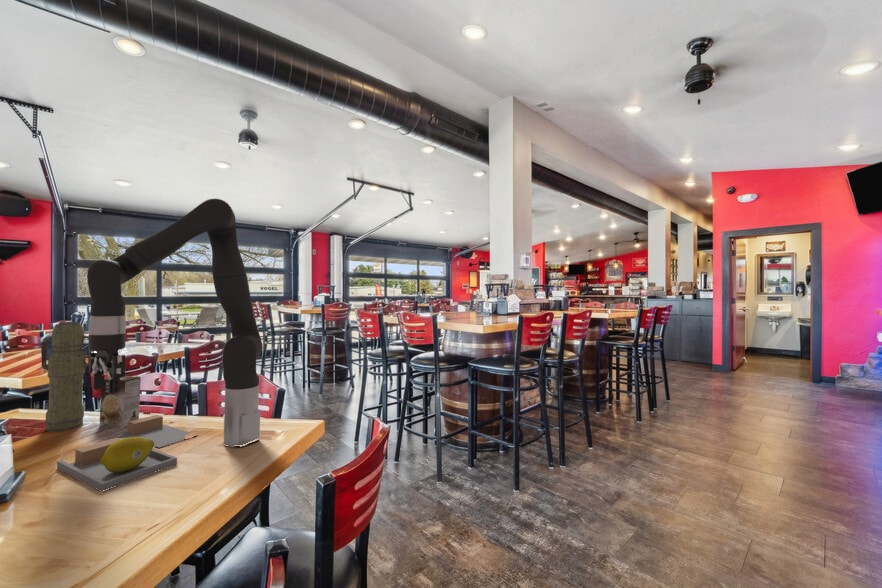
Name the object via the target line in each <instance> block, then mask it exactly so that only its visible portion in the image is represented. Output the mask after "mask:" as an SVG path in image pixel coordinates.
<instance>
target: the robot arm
mask: <svg viewBox="0 0 882 588" xmlns="http://www.w3.org/2000/svg"><path fill="white" fill-rule="evenodd" d="M236 221H237V220H236V215H235V213H234V210H233V208H232V207H231V205H230V204H229V203H228V202H227V201H225V200H222V199H220V198H217V197H216V198H215V197H213V198H209V199H206V200H204V201H202V202H201V203H199V205H197V206H196V207H195V208H193V209H192V210H190V211H189V212H188V213H187V214H185V215H184V216H182V217H181V218H179V219H178V220H176V221H175V222H173V223H171V224H170V225H168V226H166V227H165V228H163V229H160V230H159V231H157V232H156V233H153V234H152V235H150V236H148V237H145V238H144V239H142V240H140V241H138V242H136V243H134V244H132V245H130V246H128V247H127V248H126V249H125V250H124V253H122V254H120V255H119V256H117V257H115V258H114V259H111V260H110V259H98V260H95V261H93V262H92V263H91V264H90V265H89V267H88V268H87V272H86V273H87V274H86V280H87V282H86V283H87V287H88V292H89V295H90V300H91V302H90V319H89V322H88V323H89V324H88V336H89V340H88V342H87V343H88V345H87V346H88V348H87V349H88V351H89V350H90V351H92V352H90V354H89V353H88V354H89V355H90V356H89V366H88V373H89V374H91V376H92V377H93V378H92V381H93V382H92V389H93V390H94V391H97V390H98V391H99V390H101V389H103V388H104V379H105V378H106V377H105V374H106V375H107V378H109V383H108V393H110V394H113V393H118V392H119V391H120V378H122V377H125V376H126V355H125V354H119V350H124V349H125V348H126V340H127V339H126V334H127V322H126V300H125V296H123V295H122V288H121V287H122V286H121V285H123V284H125V283H127V282H129V281H130V280H131V279H134V278H135V277H136V276H138V275H139V274H140V273H142V272H144V271H145V270H146V269H148V268H150V267H152V266H153V265H155V264H158V263H159V262H161V261H163V260H165V259H167V258H168V257H170V256H171V255H172V254H174V253H175V252H176V251H178V250H179V249H180V248H182V247H183V246H184V245H185V244H187V243H188V242H189V241H191V240H193V239H194V238H195V237H198V236H199V235H201V234H204V233H206V232H207V234H208V235H207V236H208V239H209V242H210V247H211V271H212V272H211V275H212V280H213V285H214V290H215V295H216V297H217V299H218V301H219V304H220V306H221V308H222V310H223V311H224V313H225V315H226V316H227V319H228V323H229V325H230V332H231V337H230V339H228V340H227V341H226V342H225V344H224V347H223V351H222V376H223V377H222V378H223V380H224V384H225V386H224V387H225V389H224V391H225V392H224V411H223V412H224V414H223V415H224V416H223V417H224V419H223V445H224V444H225V445H228V446H234V445H243V444H246V443H248V442H250V441H253V440H255V439H257V438H259V439H260V437H261V436H260V435H261V434H260V432H261V427H260V426H261V425H260V424H261V410H260V409H259V404H260V403H259V399H260V398H259V396H260V395H259V394H260V376H259V375H258V373H257V360H258V358H259V357H260V356H261V354H262V352H263V341H262V338H261V335H260V332H259V328H258V326H257V323H256V319H255V316H254V309H253V303H252V297H251V293H250V292H251V291H250V285H249V281H248V276H247V271H246V267H245V264H244V261H243V258H242V255H241V252H240V249H239V245H238V238H237V227H236V224H237V223H236ZM225 445H224V446H225Z"/></svg>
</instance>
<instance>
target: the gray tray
mask: <svg viewBox="0 0 882 588" xmlns="http://www.w3.org/2000/svg"><path fill="white" fill-rule="evenodd" d="M122 439H123V438H121V437H116V438H112V439H109V440H108V439H107V440H104V441H102V442H97V443H94V444H90V445H86V446H83V447H78V448H75V449H74V451H75V453H74V454H75V455H74V456H75V458H74V461H73V462H70V463H68V462H66V461H64V460H62V459H61V460H60V459H59V460H57V462H56V469H57V470H60V471H62V472H63V473H65V474H67V475H69V476H70V477H73V478H75V479H77V480H78V481H79V482H80V481H81V482H82V483H84V482H85V483H84V484H86V483H87V484H86V485H88V484H89V485H88V486H90V485H91V486H93V487H95V488H97V489H99V490H101V491H103V490H106V489H108V488H111V487H114V486H117V487H119V486H118V485H120V486H122V485H121V484H123V485H124V483H125V484H128V483H131V482H133V481H135V479H136V480H139V479H141V478H140V477H142V478H144V477H146V476H145V475H147V476H149V475H148V474H150V473H153V472H155V471H158V470H161V469H163V470H165V469H164V468H166V469H168V468H167V467H169V468H171V467H170V466H172V467H174V466H176V465H175V464H178V457H176V456H173V455H171V454H168V453H165V452H162V451H160V450H158V449H154V448H153V449H152V450H151V452H150V453H149V455H148V457H147V458H146V459H145V461H144V462H142V463H141V464H140V465H139V466H137V467H135V468H133V469H131V470H129V471H126V472H121V473H113V472H110V471H108V470H106V468H105V466H104V465H102V464H101V463H100V460H101V459H102V457H103V456H104V453H105V451H106V450H107V448H108V447H109V446H110V445H112V444H113V443H115V442H117V441H119V440H122ZM173 465H174V466H173ZM161 471H162V470H161ZM158 472H159V471H158ZM155 473H156V472H155ZM153 474H154V473H153ZM150 475H151V474H150ZM143 476H144V477H143ZM138 478H139V479H138ZM132 480H133V481H132ZM130 481H131V482H130ZM127 482H128V483H127ZM91 486H90V487H91ZM93 487H92V488H93ZM95 488H94V489H95ZM114 488H115V487H114ZM97 489H96V490H97ZM99 490H98V491H99ZM101 491H100V492H101ZM106 491H107V490H106Z"/></svg>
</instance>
